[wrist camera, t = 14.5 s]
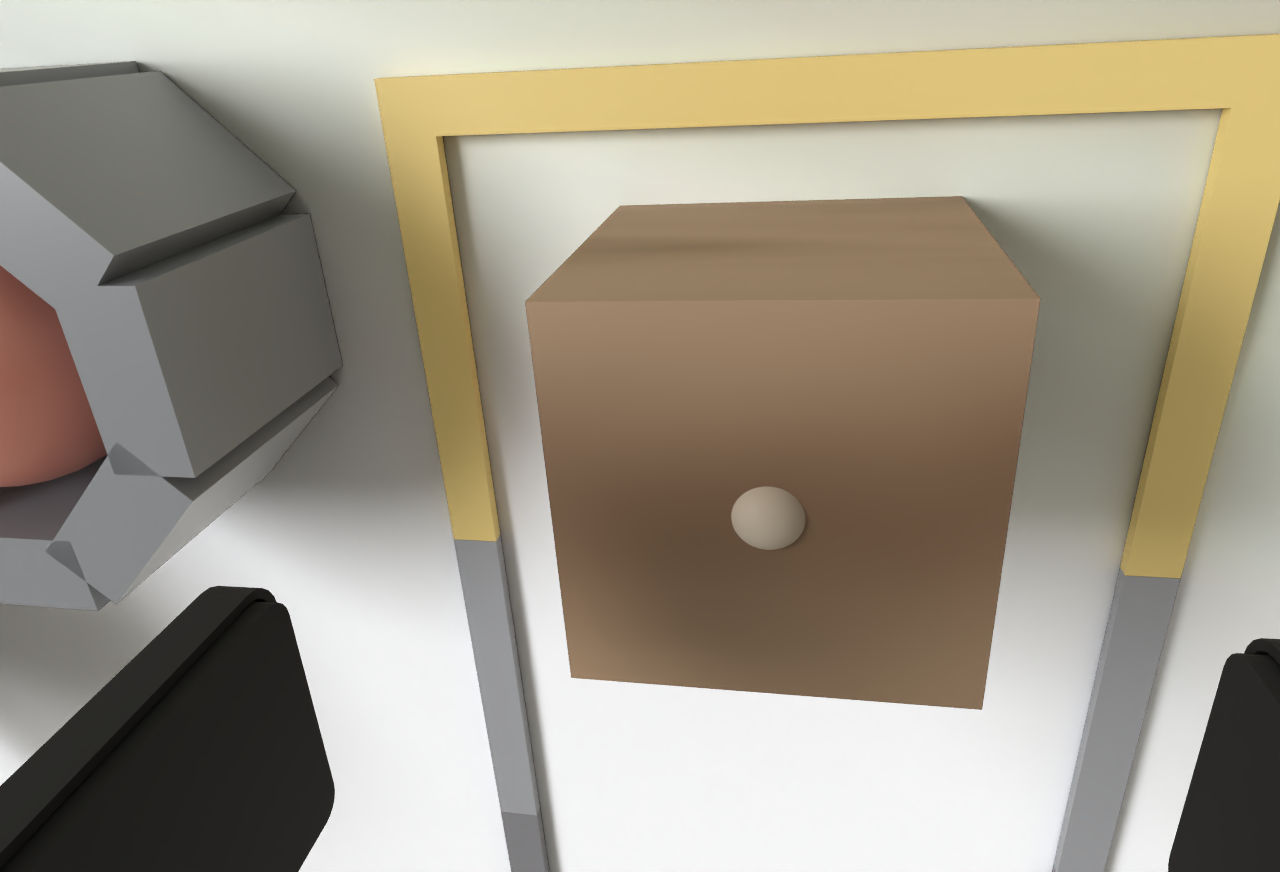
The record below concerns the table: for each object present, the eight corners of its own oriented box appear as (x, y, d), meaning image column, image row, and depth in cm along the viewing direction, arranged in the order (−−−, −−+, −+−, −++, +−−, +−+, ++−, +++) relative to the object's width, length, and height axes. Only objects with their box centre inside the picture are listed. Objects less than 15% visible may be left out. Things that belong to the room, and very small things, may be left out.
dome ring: (368, 484, 20) (240, 622, 15) (30, 470, 21) (-173, 590, 17) (274, 53, 16) (67, 72, 11) (-131, 76, 18) (-448, 99, 13)
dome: (257, 409, 19) (65, 549, 14) (59, 404, 20) (-186, 533, 15) (193, 173, 17) (-60, 241, 12) (-26, 179, 18) (-345, 245, 13)
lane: (1044, 1076, 25) (1046, 1088, 24) (537, 999, 27) (535, 1008, 27) (1313, 31, 13) (1323, 32, 13) (381, 78, 16) (374, 79, 15)
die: (947, 498, 18) (1009, 726, 12) (640, 487, 19) (566, 690, 13) (980, 194, 15) (1076, 307, 9) (621, 205, 16) (518, 309, 11)
